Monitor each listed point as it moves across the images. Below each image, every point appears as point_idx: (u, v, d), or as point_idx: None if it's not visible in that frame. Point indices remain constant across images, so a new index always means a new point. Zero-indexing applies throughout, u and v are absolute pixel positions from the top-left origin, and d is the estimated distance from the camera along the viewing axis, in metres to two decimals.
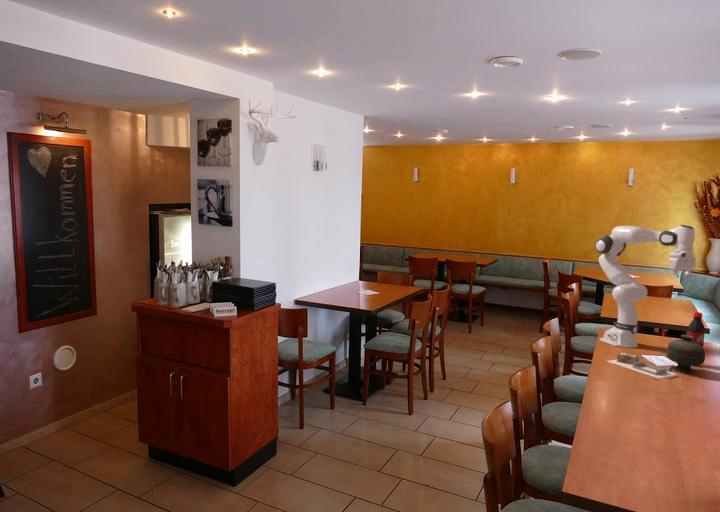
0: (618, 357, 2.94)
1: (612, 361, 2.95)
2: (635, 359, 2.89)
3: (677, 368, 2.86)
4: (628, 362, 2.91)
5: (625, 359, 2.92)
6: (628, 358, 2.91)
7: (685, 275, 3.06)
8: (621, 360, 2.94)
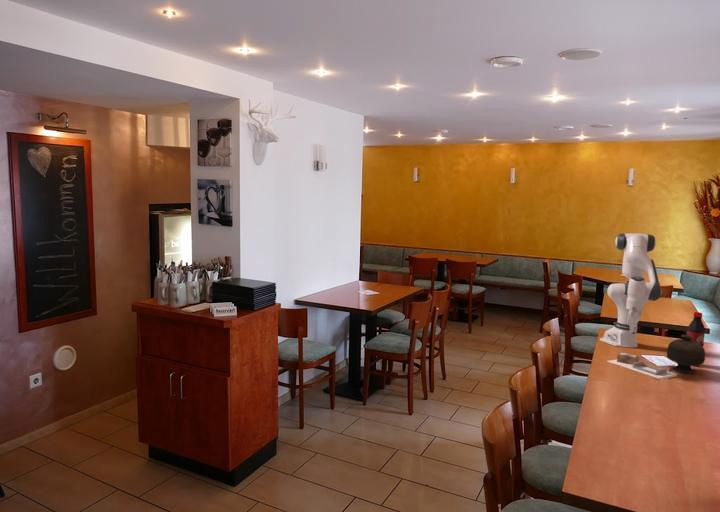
0: (618, 357, 2.94)
1: (612, 361, 2.95)
2: (635, 359, 2.89)
3: (677, 368, 2.86)
4: (628, 362, 2.91)
5: (625, 359, 2.92)
6: (628, 358, 2.91)
7: None
8: (621, 360, 2.94)
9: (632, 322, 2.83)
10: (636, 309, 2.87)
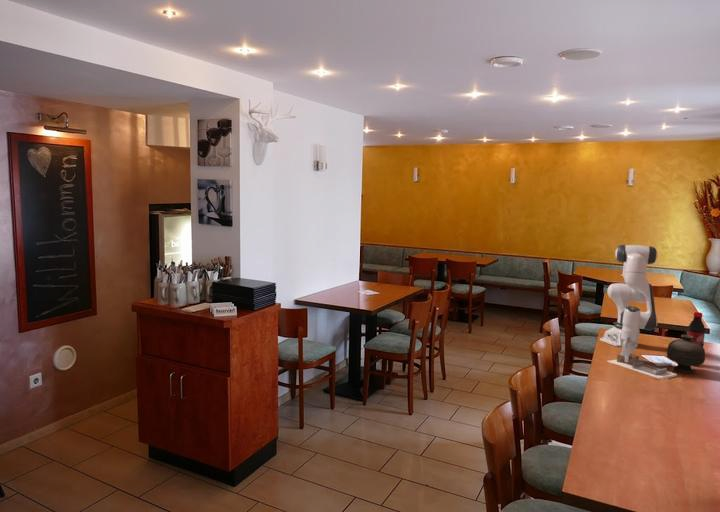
0: (618, 357, 2.94)
1: (612, 361, 2.95)
2: (635, 359, 2.89)
3: (677, 368, 2.86)
4: (628, 362, 2.91)
5: None
6: None
7: None
8: (621, 360, 2.94)
9: (626, 353, 2.85)
10: (631, 339, 2.89)
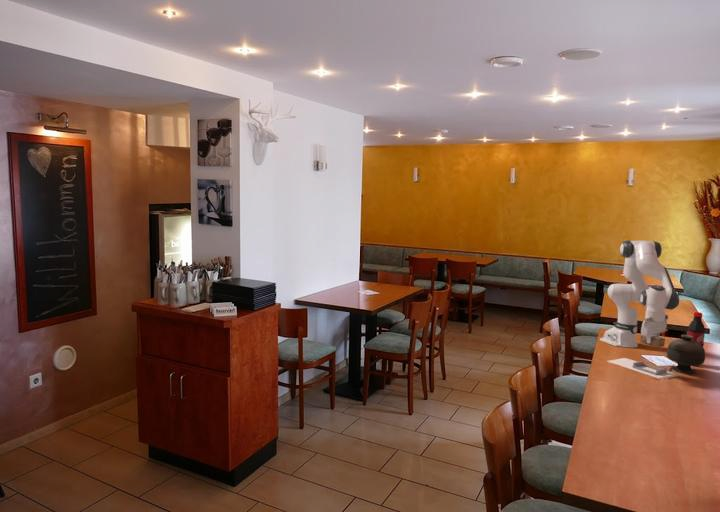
0: (641, 338, 2.82)
1: (612, 361, 2.95)
2: (658, 340, 2.75)
3: (677, 368, 2.86)
4: (651, 343, 2.78)
5: None
6: (651, 339, 2.78)
7: None
8: (644, 341, 2.81)
9: (645, 332, 2.73)
10: (653, 319, 2.75)
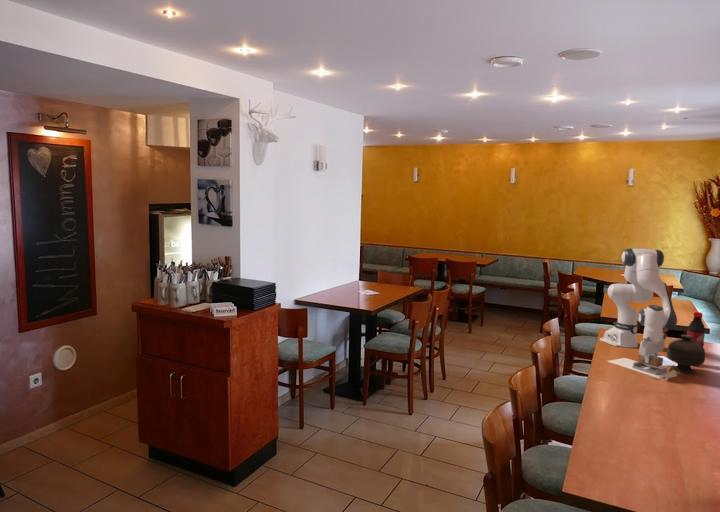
0: (640, 357, 2.83)
1: (612, 361, 2.95)
2: (656, 360, 2.76)
3: (677, 368, 2.86)
4: (649, 363, 2.79)
5: None
6: None
7: None
8: (642, 360, 2.82)
9: (643, 352, 2.74)
10: (651, 339, 2.76)
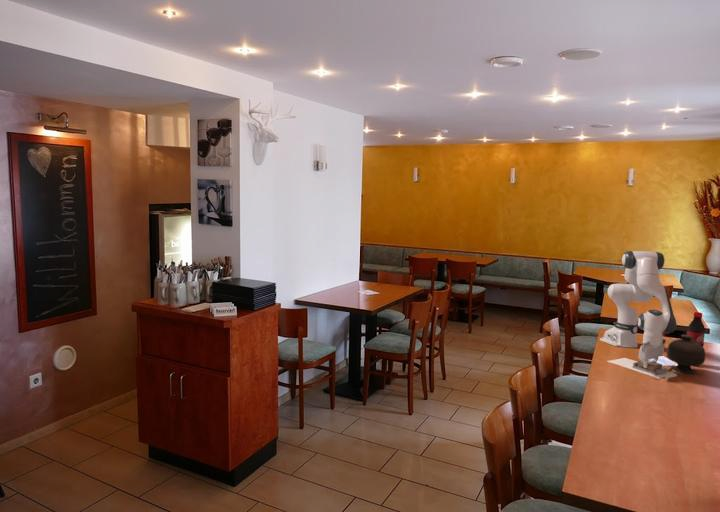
0: (639, 363, 2.84)
1: (612, 361, 2.95)
2: (655, 367, 2.77)
3: (677, 368, 2.86)
4: (649, 369, 2.80)
5: None
6: (648, 365, 2.80)
7: None
8: (642, 367, 2.83)
9: (643, 357, 2.75)
10: (650, 344, 2.77)
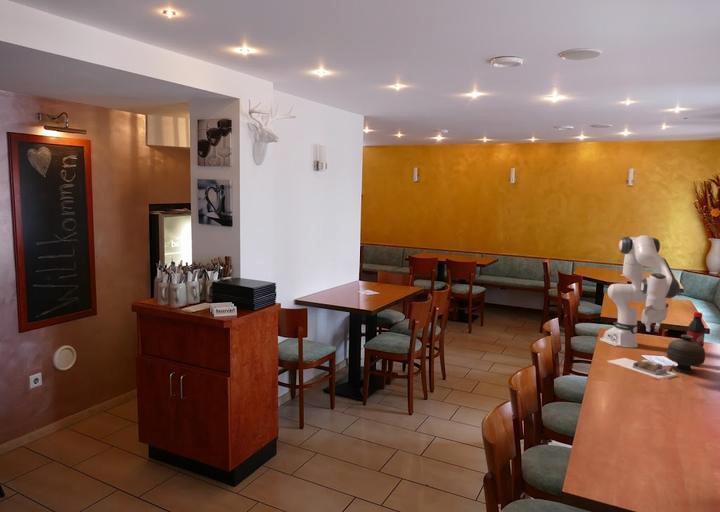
0: (639, 363, 2.84)
1: (612, 361, 2.95)
2: (655, 367, 2.77)
3: (677, 368, 2.86)
4: (649, 369, 2.80)
5: (645, 366, 2.81)
6: (648, 365, 2.80)
7: None
8: (642, 367, 2.83)
9: (645, 320, 2.74)
10: (653, 307, 2.76)
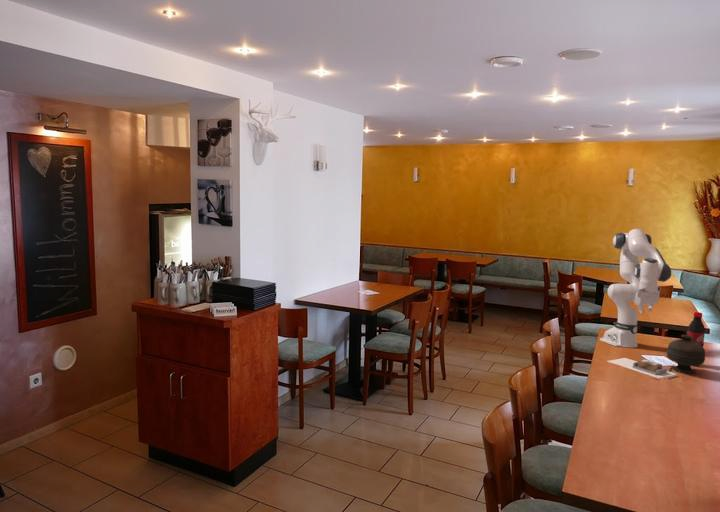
0: (639, 363, 2.84)
1: (612, 361, 2.95)
2: (655, 367, 2.77)
3: (677, 368, 2.86)
4: (649, 369, 2.80)
5: (645, 366, 2.81)
6: (648, 365, 2.80)
7: None
8: (642, 367, 2.83)
9: (638, 302, 2.89)
10: (646, 290, 2.91)
